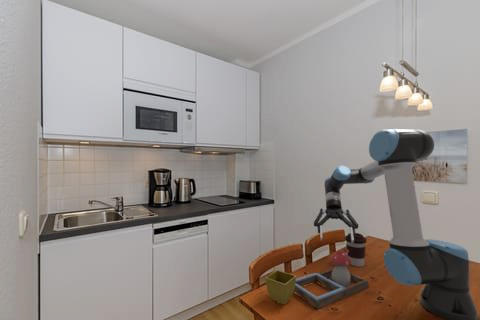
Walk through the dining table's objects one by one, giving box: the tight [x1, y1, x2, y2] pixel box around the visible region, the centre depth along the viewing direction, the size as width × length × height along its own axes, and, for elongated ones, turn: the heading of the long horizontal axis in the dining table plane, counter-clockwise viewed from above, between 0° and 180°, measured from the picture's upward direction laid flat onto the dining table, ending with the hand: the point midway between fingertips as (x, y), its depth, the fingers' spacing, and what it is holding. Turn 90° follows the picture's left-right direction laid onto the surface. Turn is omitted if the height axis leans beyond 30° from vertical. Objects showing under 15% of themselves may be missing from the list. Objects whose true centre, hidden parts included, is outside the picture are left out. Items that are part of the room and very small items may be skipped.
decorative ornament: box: [329, 248, 351, 288], centre depth 101 cm, size 9×6×15 cm
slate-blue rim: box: [295, 272, 346, 301], centre depth 95 cm, size 15×15×1 cm
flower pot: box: [265, 269, 297, 306], centre depth 91 cm, size 9×9×9 cm
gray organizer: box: [294, 267, 369, 309], centre depth 98 cm, size 15×29×3 cm, turn 118°
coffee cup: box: [344, 232, 367, 268], centre depth 122 cm, size 10×10×15 cm
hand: (336, 240), depth 111 cm, fingers open, 13 cm apart
